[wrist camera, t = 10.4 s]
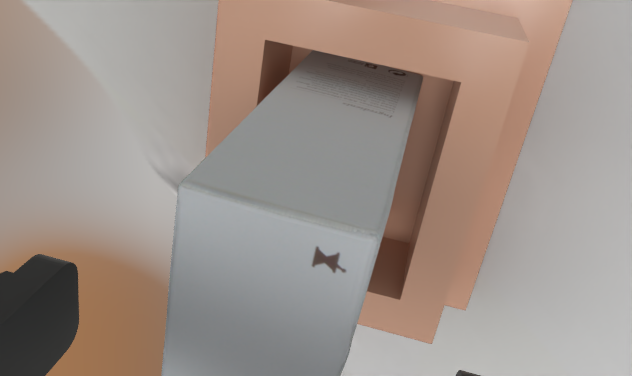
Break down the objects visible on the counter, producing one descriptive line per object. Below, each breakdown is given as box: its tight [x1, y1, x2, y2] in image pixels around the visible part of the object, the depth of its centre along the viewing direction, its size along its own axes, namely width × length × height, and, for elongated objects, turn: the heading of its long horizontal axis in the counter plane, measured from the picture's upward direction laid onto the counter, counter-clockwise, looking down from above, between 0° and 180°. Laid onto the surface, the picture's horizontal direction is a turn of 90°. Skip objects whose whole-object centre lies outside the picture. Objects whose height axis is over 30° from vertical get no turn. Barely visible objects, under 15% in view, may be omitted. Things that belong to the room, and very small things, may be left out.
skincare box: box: [162, 50, 423, 376], centre depth 18 cm, size 6×4×12 cm
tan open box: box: [205, 0, 573, 344], centre depth 22 cm, size 12×13×5 cm
